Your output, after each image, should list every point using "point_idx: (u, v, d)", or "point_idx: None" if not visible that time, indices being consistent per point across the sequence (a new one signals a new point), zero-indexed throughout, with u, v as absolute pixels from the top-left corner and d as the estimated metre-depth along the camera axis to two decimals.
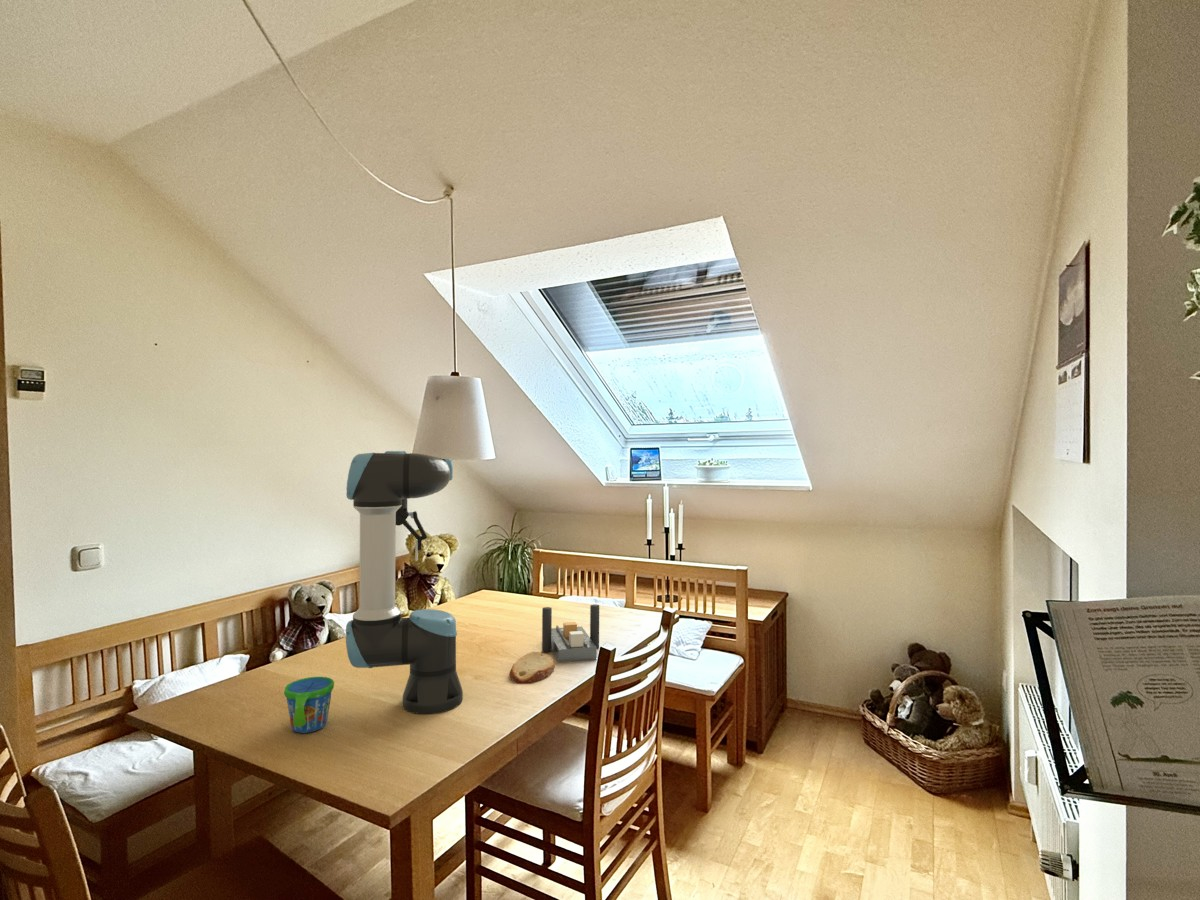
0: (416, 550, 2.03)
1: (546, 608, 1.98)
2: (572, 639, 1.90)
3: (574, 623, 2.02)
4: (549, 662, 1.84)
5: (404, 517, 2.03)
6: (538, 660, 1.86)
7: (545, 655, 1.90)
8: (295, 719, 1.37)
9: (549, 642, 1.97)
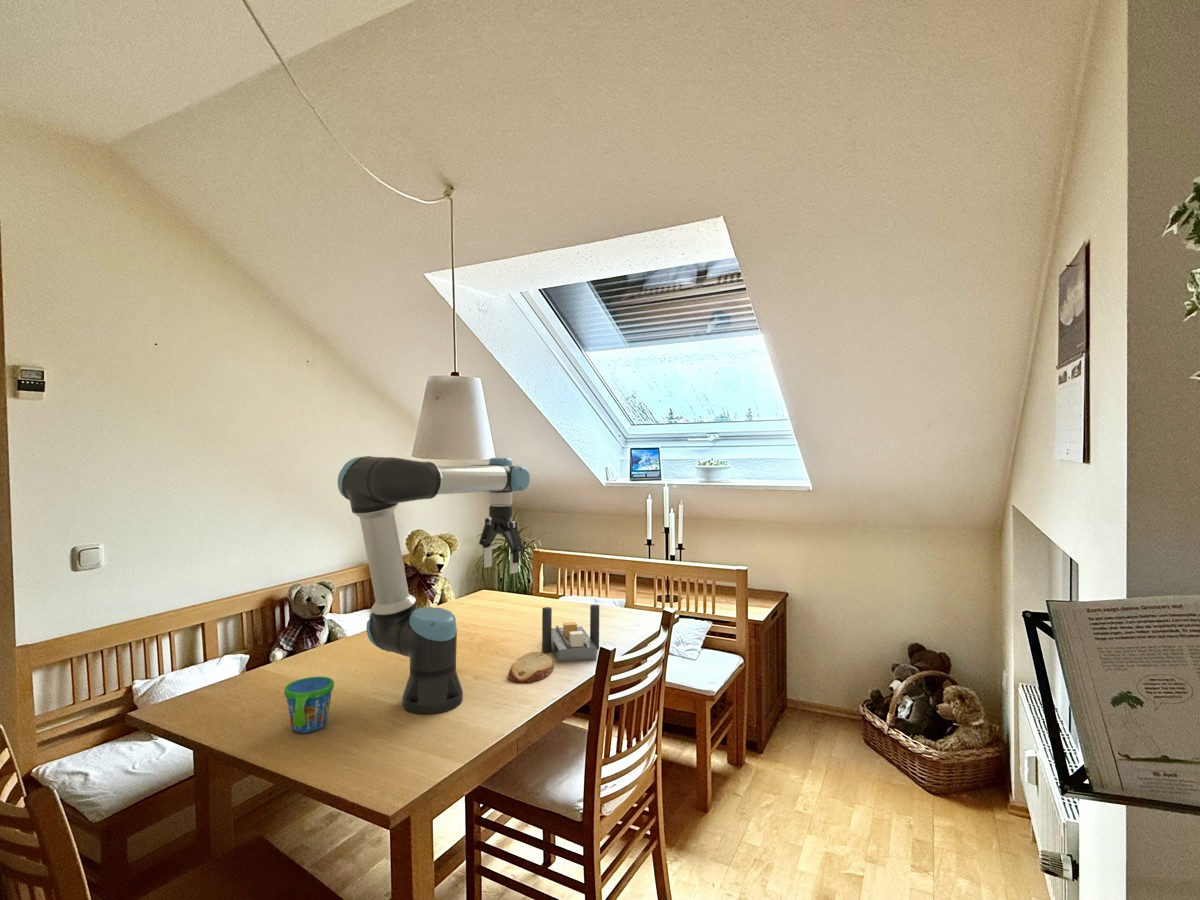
0: (510, 562, 1.94)
1: (546, 608, 1.98)
2: (572, 639, 1.90)
3: (574, 623, 2.02)
4: (548, 662, 1.84)
5: (503, 526, 1.97)
6: (537, 660, 1.86)
7: (544, 655, 1.90)
8: (295, 719, 1.37)
9: (549, 642, 1.97)
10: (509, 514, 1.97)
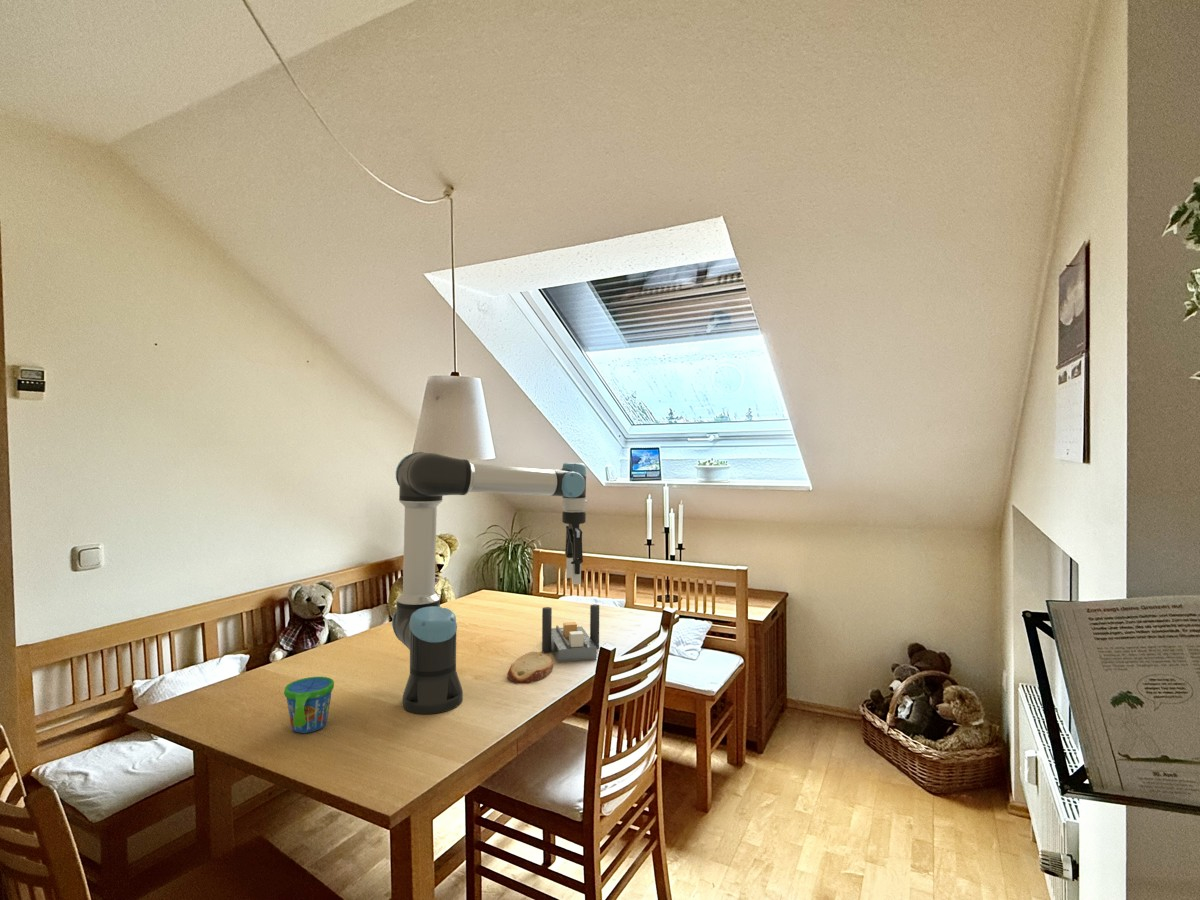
0: (572, 573, 1.92)
1: (546, 608, 1.98)
2: (572, 639, 1.90)
3: (574, 623, 2.02)
4: (548, 662, 1.84)
5: (572, 532, 1.94)
6: (536, 660, 1.86)
7: (544, 655, 1.90)
8: (295, 719, 1.37)
9: (549, 642, 1.97)
10: (578, 520, 1.93)
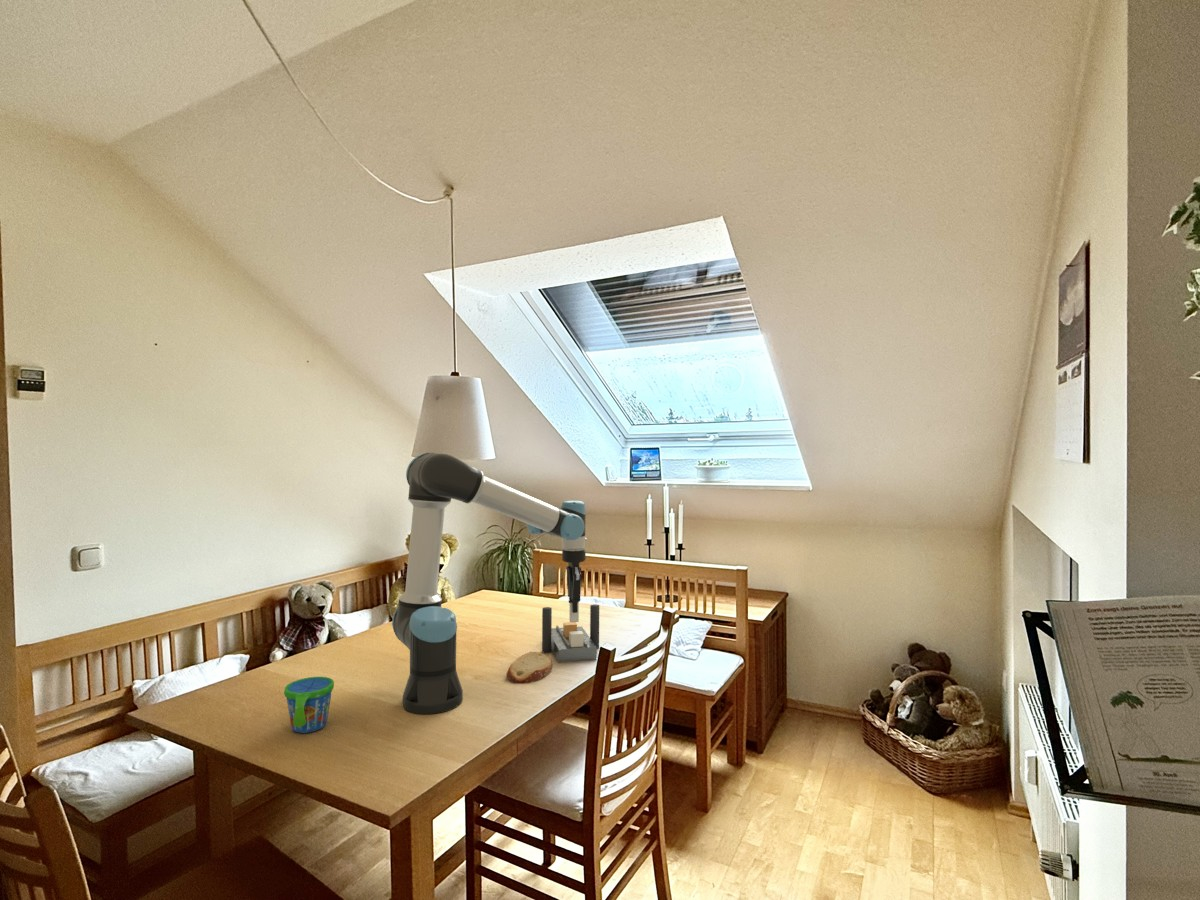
0: (570, 611, 1.96)
1: (546, 608, 1.98)
2: (572, 639, 1.90)
3: (574, 623, 2.02)
4: (547, 662, 1.84)
5: (572, 571, 1.94)
6: (536, 660, 1.86)
7: (543, 655, 1.90)
8: (295, 719, 1.37)
9: (549, 642, 1.97)
10: (578, 559, 1.93)
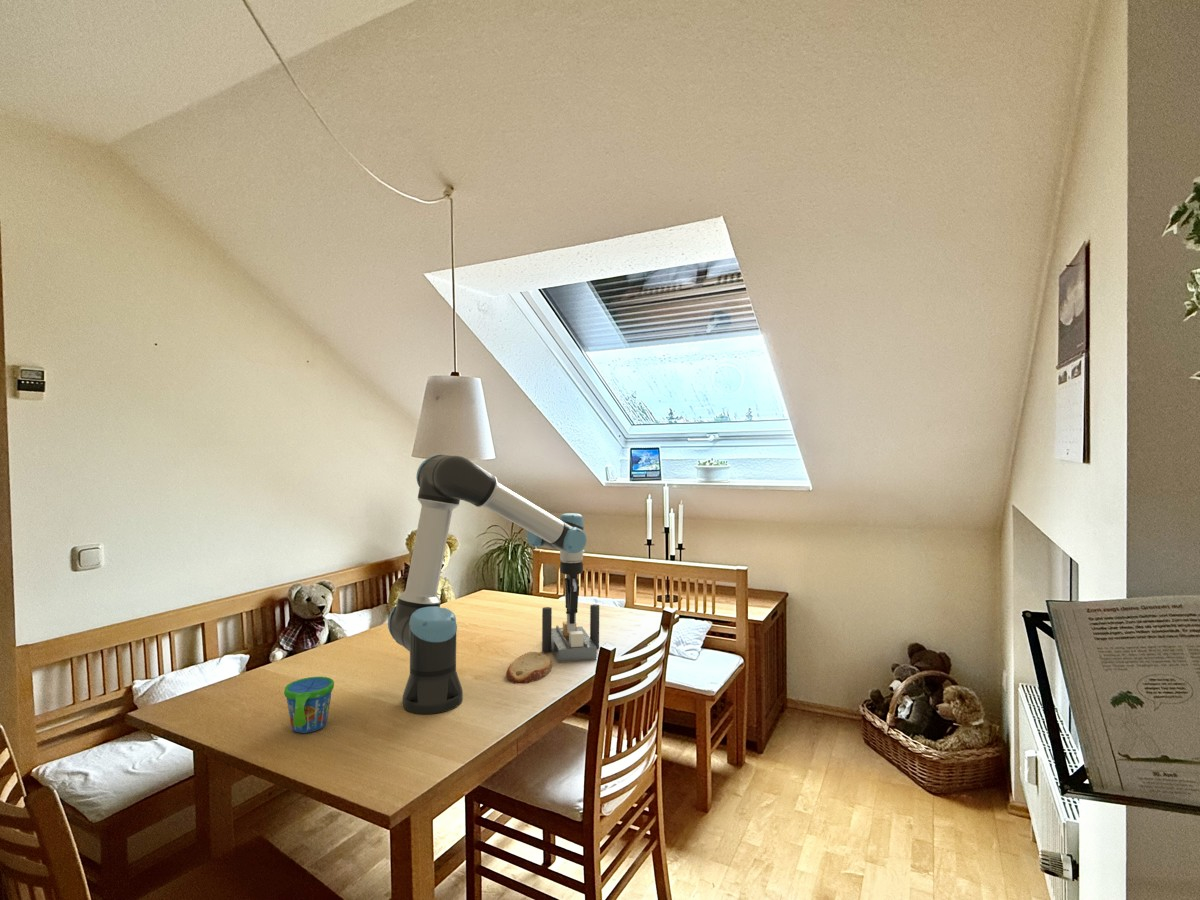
0: (567, 622, 2.00)
1: (546, 608, 1.98)
2: (572, 639, 1.90)
3: None
4: (546, 662, 1.84)
5: (569, 583, 1.97)
6: (535, 660, 1.86)
7: (543, 655, 1.90)
8: (295, 719, 1.37)
9: (549, 642, 1.97)
10: (575, 571, 1.97)
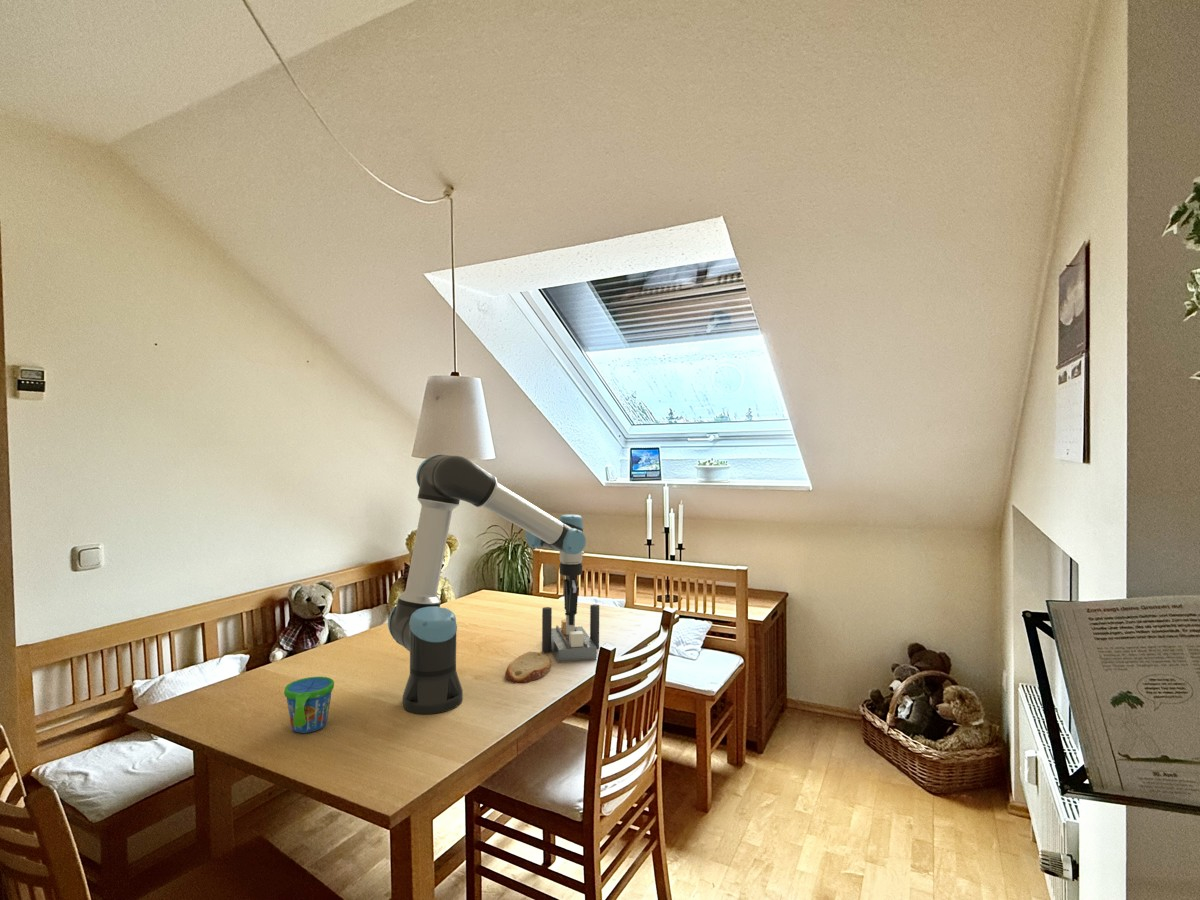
0: (566, 623, 2.00)
1: (546, 608, 1.98)
2: (572, 639, 1.90)
3: None
4: (546, 662, 1.84)
5: (569, 584, 1.97)
6: (534, 660, 1.86)
7: (542, 655, 1.90)
8: (295, 719, 1.37)
9: (549, 642, 1.97)
10: (575, 572, 1.97)
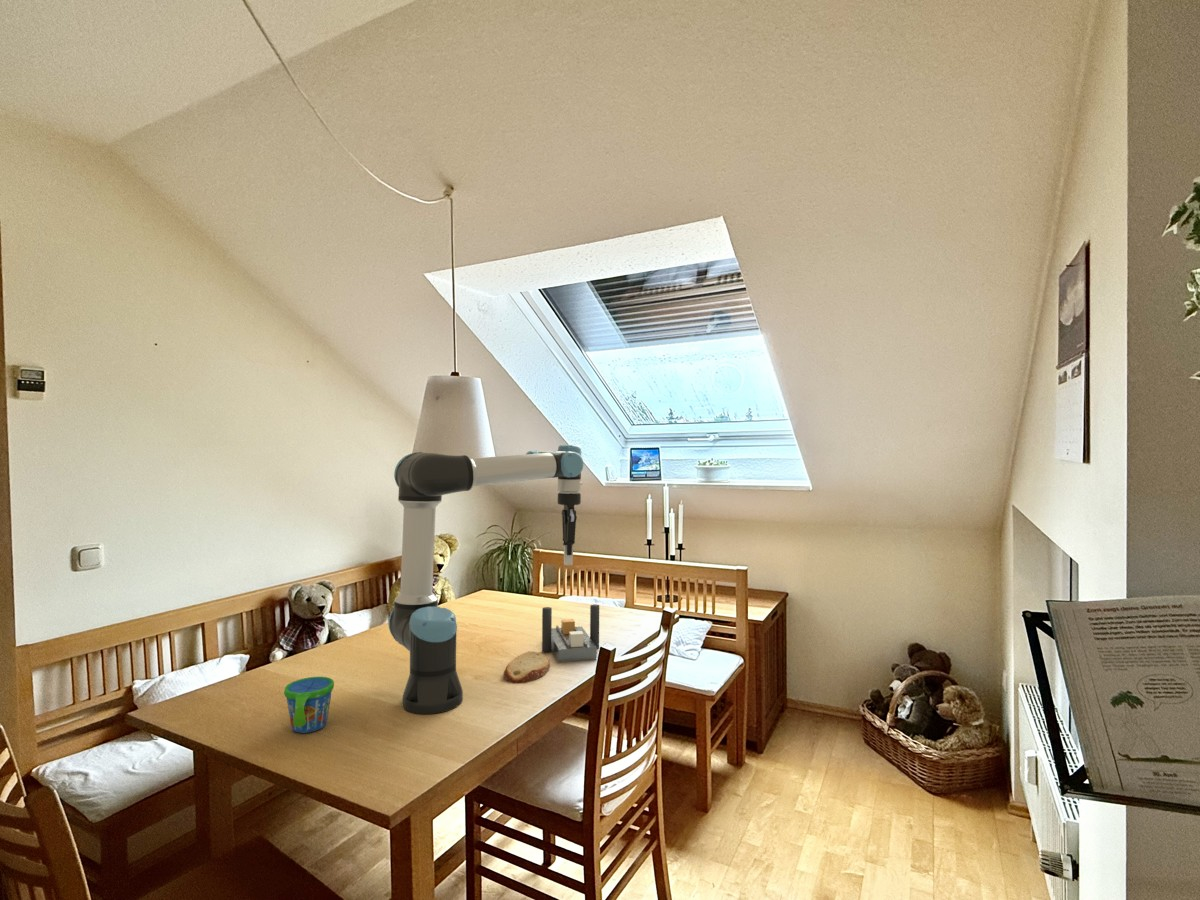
0: (564, 554, 1.98)
1: (546, 608, 1.98)
2: (572, 639, 1.90)
3: (572, 620, 2.05)
4: (545, 662, 1.84)
5: (567, 513, 1.96)
6: (533, 660, 1.86)
7: (541, 655, 1.90)
8: (295, 719, 1.37)
9: (549, 642, 1.97)
10: (573, 502, 1.95)
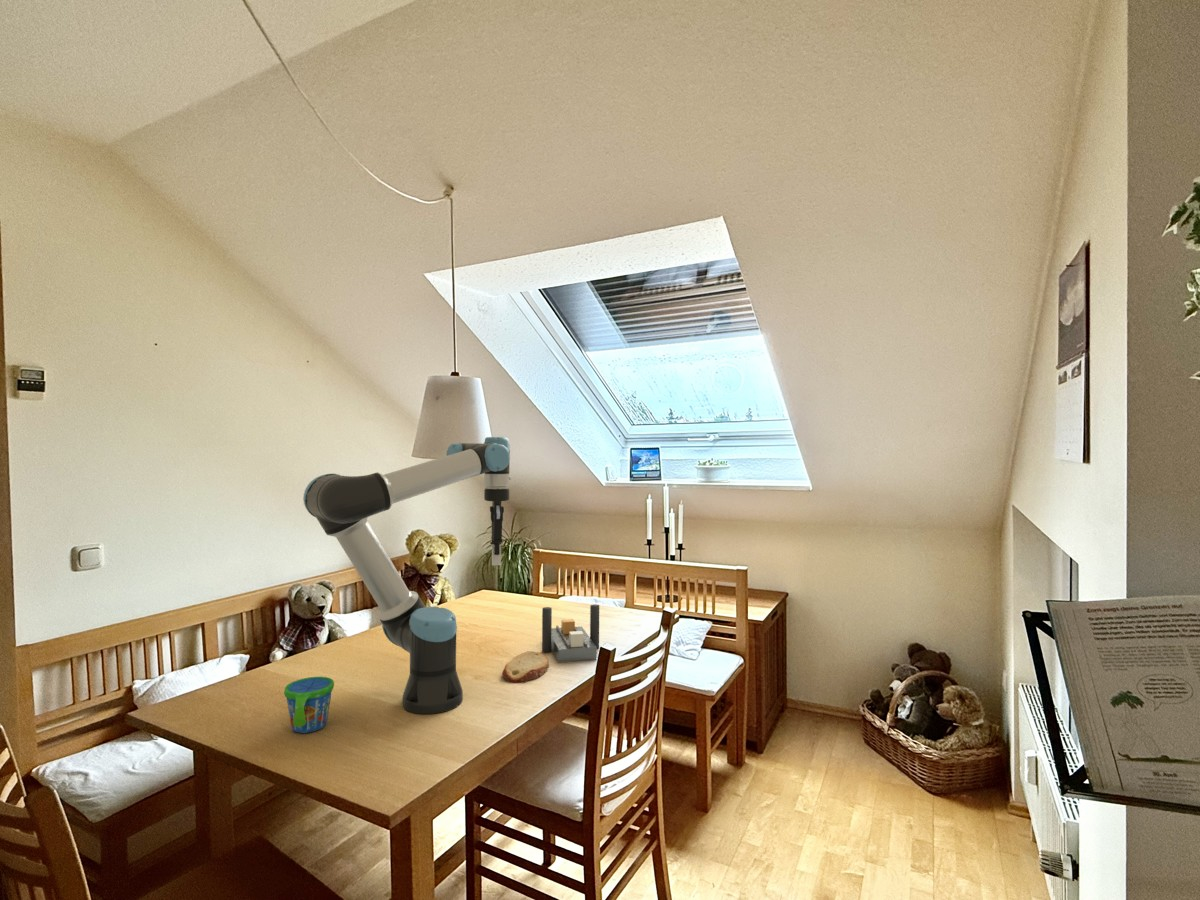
0: (492, 553, 1.86)
1: (546, 608, 1.98)
2: (572, 639, 1.90)
3: (572, 620, 2.05)
4: (543, 661, 1.84)
5: (493, 510, 1.83)
6: (532, 660, 1.86)
7: (540, 655, 1.90)
8: (295, 719, 1.37)
9: (549, 642, 1.97)
10: (500, 498, 1.83)
